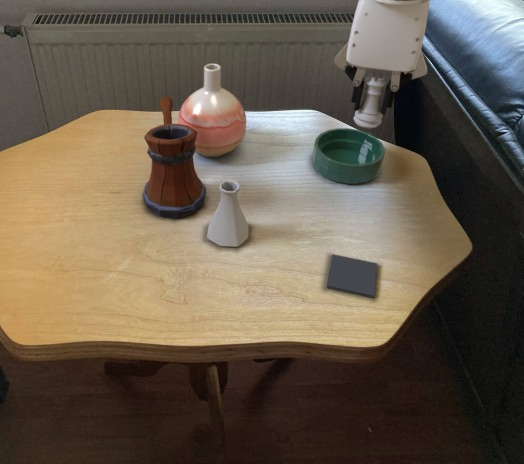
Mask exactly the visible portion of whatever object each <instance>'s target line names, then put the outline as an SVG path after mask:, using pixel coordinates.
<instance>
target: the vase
mask: <svg viewBox="0 0 524 464" xmlns="http://www.w3.org/2000/svg"><path fill="white" fill-rule="evenodd" d="M247 123H248V122H247V115H246V111H245V108H244V106H243V105H242V103H241V102H240V100H239V99H238V98H237V96H235V95H234V94H233V93H231V92H230V91H228V90H227V89H225V88H224V87H222V67H221V66H220V65H219V64H218V63H207V64H205V65H204V66H203V87H201V88H199V89H197V90H195V91H194V92H192V93H191V94H190V95H189V96H188V97H187V98H186V100H185V101H183V103H182V105H181V106H180V109H179V112H178V116H177V124H182V125H187V126H190V127H191V128H193V129H194V130H196V131H197V132H198V133H197V137H196V141H195V144H194V145H195V147H196V150H195V153H196V154H198V155H200V156H202V157H207V158H219V157H222V156H224V155H226V154H227V153H230V152H232V151H234V149H236V148H237V147H238V146H239V145H240V144H241V142H242V141H243V139H244V138H245V136H246V132H247Z"/></svg>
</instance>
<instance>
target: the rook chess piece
mask: <svg viewBox="0 0 524 464" xmlns="http://www.w3.org/2000/svg"><path fill="white" fill-rule="evenodd" d="M386 78H387V75H386V74H384V73H383V72H379V74H378V71H373V72H369V73H368V76H367V77H366V78H365V79H364V81H365V83H366V87H365V88H364V91H365V93H364V97H363V100H362V102H361V103H360V106H359V110H357V111H355V112H354V116H353V121H354V123H355V124H356V125H357V126H358V127H361V128H362V129H375V128H377V127H379V126H380V125H381V124H382V119H383V115H382V114H381V99H382V94H384V93H385V90H384V87H386V86H387V84H388V81H387V79H386Z"/></svg>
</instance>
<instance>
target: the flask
mask: <svg viewBox="0 0 524 464" xmlns="http://www.w3.org/2000/svg"><path fill="white" fill-rule="evenodd" d="M239 191H240V183H239V182H237V181H235V180H234V179H233V180H232V179H231V180H230V179H224V180H223V181H222V182H220V183H219V192H221V193H220V199H219V203H218V205H217V207H216V209H215V211H214V214H213V216H212V218H211V220H210V222H209V224H208V225H207V233H206V234H207V235H206V239H207V240H209V241H211V242H213V243H214V244H216V245H218V246H220V247H232V248H233V247H235V248H236V247H240V246H241V245H242V244H243V243H244V242H245V241H246V240H248V239H249V232H250V231H249V227H250V226H249V224H248V221H247V219H246V217H245V215H244V213H243V210H242V207H241V204H240V202H239V196H238V192H239Z"/></svg>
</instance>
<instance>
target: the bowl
mask: <svg viewBox="0 0 524 464" xmlns="http://www.w3.org/2000/svg"><path fill="white" fill-rule="evenodd" d="M385 154H386V147H385V146H384V144H383V142H381V140H379V138H377V136H374V135H372V134H370V133H368V132H367V131H362V130H359V129H354V128H348V127H347V128H345V127H344V128H343V127H342V128H339V127H338V128H333V129H328V130H325V131H323V132H321V133H320V134H319V135H318V136H316V138H315V141H314V145H313V149H312V157H311V163H312V166H313V168H314V169H315V171H317V172H318V173H319V174H320V175H321V176H323V177H325V178H326V179H329V180H331V181H334V182H338V183H342V184H349V185H350V184H351V185H352V184H362V183H367V182H370V181H371V180H374V179H375V178H377V177H378V176H379V174H380V173H381V171H382V166H383V162H384V158H385Z"/></svg>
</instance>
